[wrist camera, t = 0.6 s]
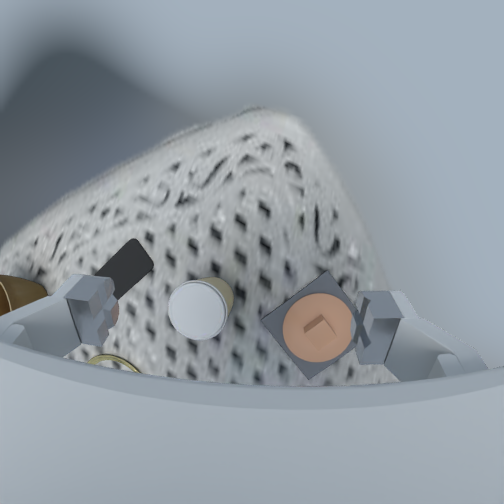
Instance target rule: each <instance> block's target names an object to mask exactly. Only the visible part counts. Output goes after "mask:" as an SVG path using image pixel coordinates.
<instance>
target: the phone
mask: <svg viewBox="0 0 504 504" xmlns="http://www.w3.org/2000/svg"><path fill="white" fill-rule="evenodd" d="M153 266H154V264H153V261H152V260H151V258H150V257H149V255H148V254H147V253H146V251H145V250H144V248H143V247H142V246H141V244H140V243H139V241H138V240H137V239H131V240H129V241H128V242H127V243H126V244H125V245H124V246H123V247H122V248H121V249H120V250H119V251H118V252H117V253H116V254H115V255H114V256H113V257H112V258H111V259H110V260H109V261H108V262H107V263H106V264H105V265H104V266H103V267H102V268H101V269H100V270H99V271H98V272H97V273H96V274H95V275H94V276H100V277H109V278H111V279H112V280H113V282H114V287H115V290H114V292H113V296H114V297H115V298H116V299H117V300H119V299H120V298H121V297H122V296H123V295H124V294H125V293H126V292H127V291H128V290H129V289H131V288H132V287H133V286H134V285H135V284H136V283H138V282H139V281H140V280H141V279H142V278H143V277H144V276H145V275H146V274H147V273H148V272H149V271H151V270H152V268H153Z"/></svg>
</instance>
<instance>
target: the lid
mask: <svg viewBox="0 0 504 504" xmlns="http://www.w3.org/2000/svg"><path fill="white" fill-rule="evenodd" d="M351 319H352V314H351V311H350V310H349V308H348V307H347V306H346V304H345V303H344V302H343V301H342V300H340V299H339V298H337V297H335V296H333V295H330V294H326V293H314V294H309V295H306V296H304V297H302V298H300V299H299V300H297V301H296V302H295V303H294V304H293V305H292V306H291V307H290V309H289V310H288V312H287V313H286V316H285V318H284V322H283V336H284V340H285V343H286V345H287V347H288V348H289V349H290V351H291V352H292V353H293V354H294V355H296V356H297V357H299V358H300V359H303V360H305V361H309V362H324V361H328V360H331V359H333V358H335V357H337V356H338V355H340V354H341V353H342V352H343V351H344V350H345V349H346V348H347V346H348V345H349V343H350V341H351V339H352V337H351V331H350V328H351Z"/></svg>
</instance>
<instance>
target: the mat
mask: <svg viewBox="0 0 504 504" xmlns="http://www.w3.org/2000/svg"><path fill="white" fill-rule="evenodd" d="M314 293H326V294H330V295H333V296H335V297H337V298H339V299H340V300H342V301H343V302H344V303H345V304H346V306H347V307H348V308H349V310H350V311H351V314H353V313H354V312H355V311H356V308H355V307H354V306H353V304H352V303H351V302H350V300H349V299H348V297H347V296H346V295H345V293H344V292H343V290H342V289H341V288H340V286H339V285H338V284H337V282H336V281H335V280H334V278H333V277H332V276H331V274H330V273H329V271H328V270H327V271H326V272H324V273H323V274H322V275H320V276H319V277H318V278H317V279H315V280H314V281H313V282H311V283H310V284H309V285H307V286H306V287H305V288H303V289H302V290H301V291H299V292H298V293H297V294H295V295H294V296H293V297H291V298H290V299H289V300H287V301H286V302H285V303H283V304H282V305H281V306H279V307H278V308H277V309H275V310H274V311H272V312H271V313H270V314H268V315H267V316H266V317H264V318H263V319H261V322H262V323H263V324H264V325H265V327H266V328H267V329H268V330H269V332H270V333H271V334H272V335H273V337H274V338H275V339H276V340H277V342H278V343H279V344H280V345H281V347H282V348H283V349H284V350H285V352H286V353H287V354H288V355H289V357H290V358H291V359H292V360H293V361H294V363H295V364H296V365H297V366H298V368H299V369H300V370H301V371H302V372H303V374H304V375H305V376H306V377H307V379H308V380H309V379H310V378H312V377H313V376H315V375H316V374H318V373H319V372H321V371H322V370H324V369H325V368H327V367H328V366H329V365H331V364H332V363H334V362H335V361H337V360H338V359H339V358H341V357H342V356H344V355H345V354H346V353H348V352H349V351H351V350H352V349H353V348H355V347H356V346H357V344H356V343H354V342H353V341H352V339H351V341H350V343H349V345H348V346H347V348H346V349H345V350H344V351H343V352H342V353H341V354H340V355H338V356H337V357H335V358H333V359H331V360H328V361H324V362H309V361H305V360H303V359H300V358H299V357H297V356H296V355H294V354H293V353H292V352H291V351H290V349H289V348H288V347H287V345H286V343H285V340H284V336H283V322H284V318H285V316H286V313H287V312H288V310H289V309H290V307H291V306H292V305H293V304H294V303H295V302H296V301H297V300H299V299H300V298H302V297H304V296H306V295H309V294H314Z"/></svg>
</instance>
